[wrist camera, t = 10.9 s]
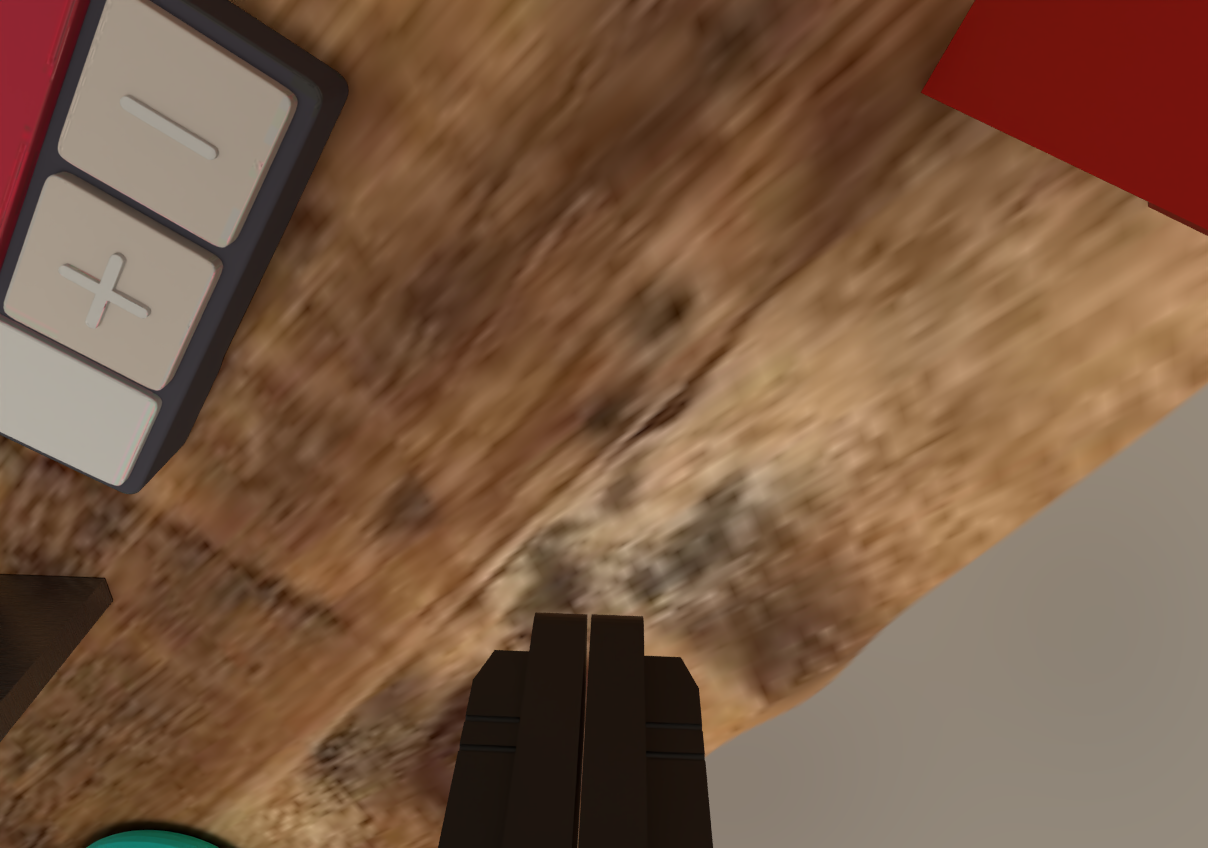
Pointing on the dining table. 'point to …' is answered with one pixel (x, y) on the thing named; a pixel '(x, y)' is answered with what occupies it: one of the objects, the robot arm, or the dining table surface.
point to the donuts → (150, 840)
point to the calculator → (139, 213)
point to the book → (1093, 89)
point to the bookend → (41, 633)
